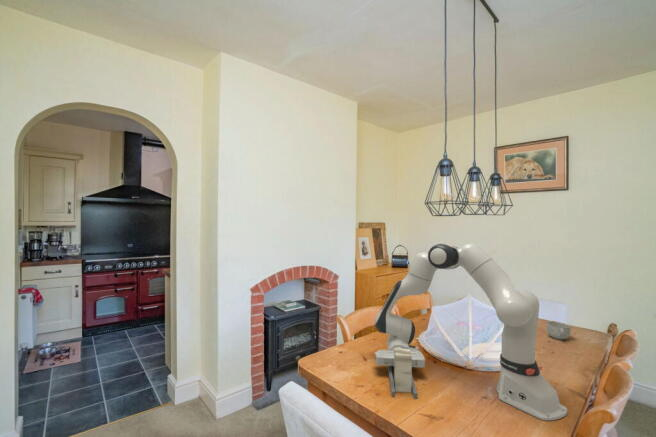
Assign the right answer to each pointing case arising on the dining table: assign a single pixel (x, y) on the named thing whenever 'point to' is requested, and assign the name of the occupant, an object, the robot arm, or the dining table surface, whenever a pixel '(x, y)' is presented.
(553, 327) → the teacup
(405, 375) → the cream block
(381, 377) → the dining table surface
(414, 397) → the chute
